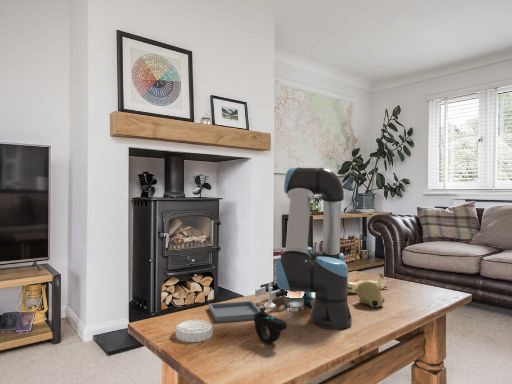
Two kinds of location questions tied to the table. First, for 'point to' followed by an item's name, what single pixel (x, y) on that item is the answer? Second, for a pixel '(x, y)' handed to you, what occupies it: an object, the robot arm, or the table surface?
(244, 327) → the table surface
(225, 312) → the tray
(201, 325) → the mooncake
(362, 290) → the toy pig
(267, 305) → the chess piece
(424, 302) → the table surface
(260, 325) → the controller
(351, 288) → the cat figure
